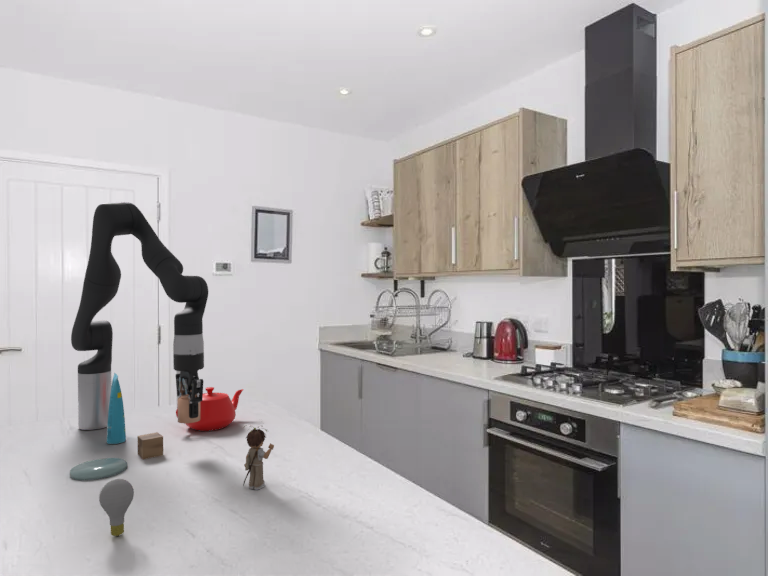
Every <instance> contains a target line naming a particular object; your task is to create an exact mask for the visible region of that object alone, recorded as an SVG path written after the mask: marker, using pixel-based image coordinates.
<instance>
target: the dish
mask: <svg viewBox="0 0 768 576" xmlns="http://www.w3.org/2000/svg"><path fill="white" fill-rule="evenodd" d="M126 469H128V461H127V460H126V459H125V458H119V457H107V458H106V457H105V458H97V459H92V460H89V461H84V462H81V463H78V464H76V465H75V466H72V467H71V469H70V470H69V477H70V478H71V479H73V480H76V481H93V480H95V481H96V480H100V479H106V478H109V477H112V476H116V475H118V474H120V473H122V472H124V471H126Z"/></svg>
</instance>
